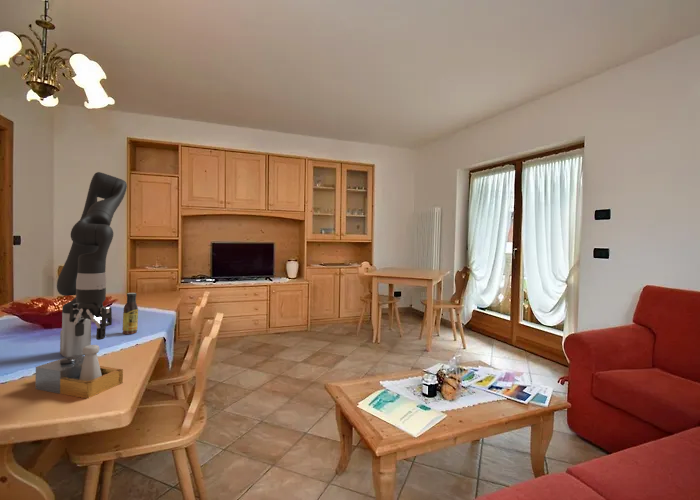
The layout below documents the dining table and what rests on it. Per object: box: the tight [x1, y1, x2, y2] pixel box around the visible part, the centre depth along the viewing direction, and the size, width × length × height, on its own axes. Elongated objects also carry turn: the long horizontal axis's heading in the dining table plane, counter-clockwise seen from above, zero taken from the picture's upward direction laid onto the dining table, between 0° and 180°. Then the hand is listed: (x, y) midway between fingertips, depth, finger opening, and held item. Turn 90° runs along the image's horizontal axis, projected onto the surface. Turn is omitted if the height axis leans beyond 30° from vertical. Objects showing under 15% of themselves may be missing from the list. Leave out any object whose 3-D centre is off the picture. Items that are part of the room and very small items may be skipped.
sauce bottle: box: [122, 292, 139, 335], centre depth 169 cm, size 6×6×20 cm
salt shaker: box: [79, 344, 102, 381], centre depth 109 cm, size 6×6×13 cm
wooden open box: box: [34, 355, 124, 399], centre depth 111 cm, size 24×12×8 cm, turn 76°
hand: (90, 337), depth 108 cm, fingers open, 8 cm apart
